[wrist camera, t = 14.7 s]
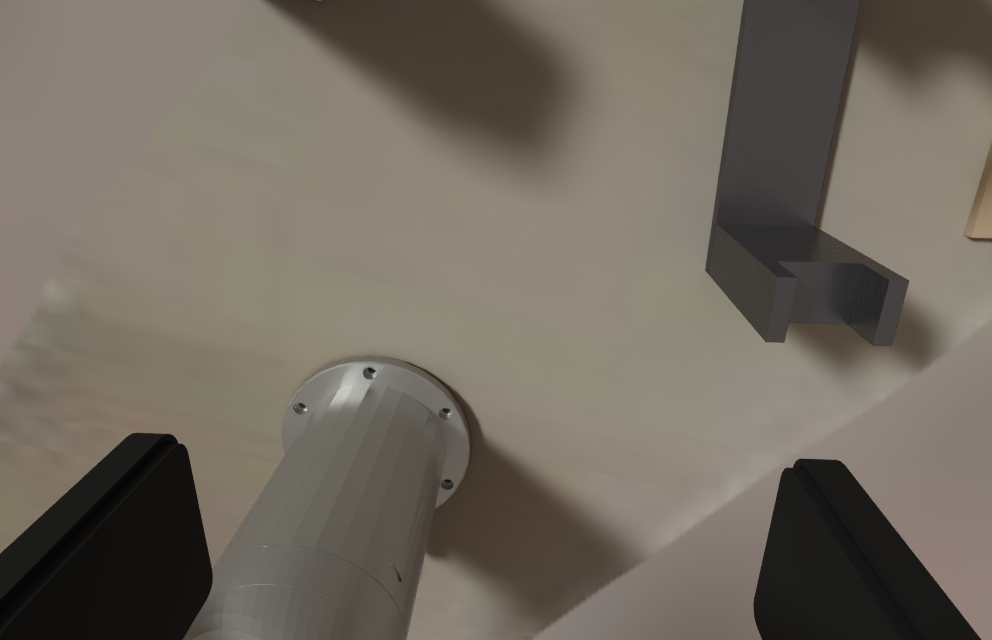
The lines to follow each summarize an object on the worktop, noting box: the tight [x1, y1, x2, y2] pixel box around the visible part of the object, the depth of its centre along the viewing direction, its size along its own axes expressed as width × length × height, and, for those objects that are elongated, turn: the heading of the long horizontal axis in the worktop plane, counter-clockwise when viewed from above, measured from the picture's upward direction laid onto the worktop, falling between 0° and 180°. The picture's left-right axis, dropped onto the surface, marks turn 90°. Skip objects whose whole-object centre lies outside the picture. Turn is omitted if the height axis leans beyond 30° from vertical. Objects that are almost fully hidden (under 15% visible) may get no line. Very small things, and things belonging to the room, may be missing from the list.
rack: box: [705, 0, 909, 346], centre depth 29 cm, size 19×5×10 cm, turn 179°
